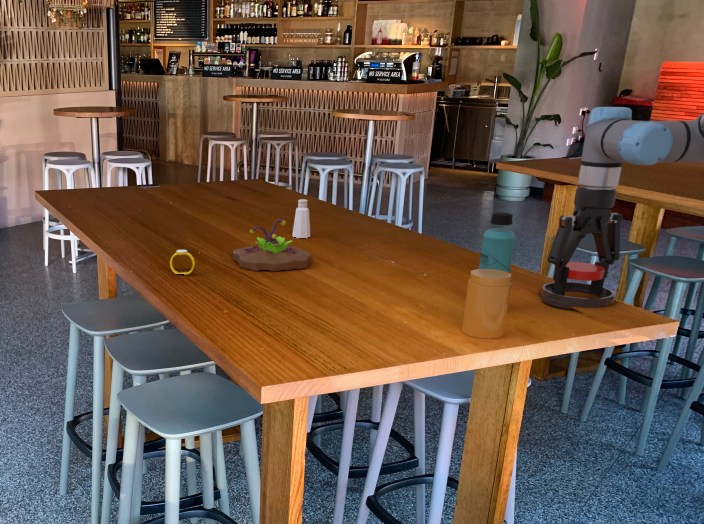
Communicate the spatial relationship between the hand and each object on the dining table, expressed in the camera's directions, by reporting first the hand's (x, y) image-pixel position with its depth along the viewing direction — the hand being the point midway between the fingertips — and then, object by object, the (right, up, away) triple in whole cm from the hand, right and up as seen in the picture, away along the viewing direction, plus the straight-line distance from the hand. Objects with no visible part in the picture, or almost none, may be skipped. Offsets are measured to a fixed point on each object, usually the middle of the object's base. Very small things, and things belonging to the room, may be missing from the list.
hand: (576, 294), depth 170 cm
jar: (-27, -9, -18) cm, 33 cm away
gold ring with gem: (-85, +8, +26) cm, 89 cm away
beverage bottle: (-20, -3, -2) cm, 20 cm away
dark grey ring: (0, -2, +1) cm, 2 cm away
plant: (-61, +12, +37) cm, 73 cm away
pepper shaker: (-50, +25, +68) cm, 88 cm away
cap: (0, +5, -2) cm, 6 cm away
